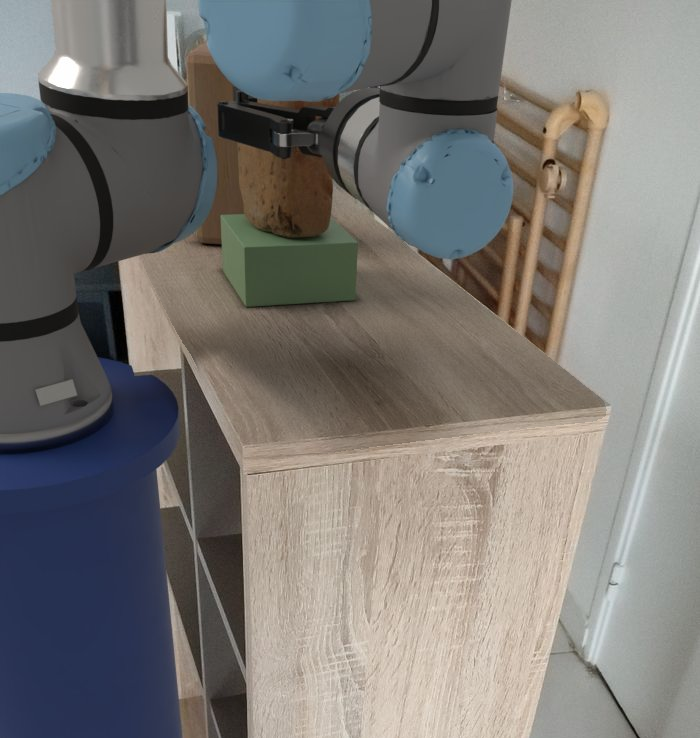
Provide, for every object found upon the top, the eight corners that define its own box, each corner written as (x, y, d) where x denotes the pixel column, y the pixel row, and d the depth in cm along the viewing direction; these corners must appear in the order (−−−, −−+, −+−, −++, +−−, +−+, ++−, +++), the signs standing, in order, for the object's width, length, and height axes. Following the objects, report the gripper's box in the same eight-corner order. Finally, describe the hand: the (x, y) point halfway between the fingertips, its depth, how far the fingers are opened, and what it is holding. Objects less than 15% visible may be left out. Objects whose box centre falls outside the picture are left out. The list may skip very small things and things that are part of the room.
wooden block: (194, 245, 109) (183, 51, 96) (207, 223, 116) (199, 41, 104) (276, 250, 109) (276, 57, 96) (284, 227, 116) (285, 46, 104)
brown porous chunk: (234, 218, 97) (227, -7, 85) (295, 212, 100) (297, -6, 88) (279, 245, 90) (279, 5, 78) (344, 238, 93) (353, 5, 81)
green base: (245, 307, 93) (244, 247, 89) (222, 270, 102) (220, 214, 98) (355, 300, 96) (358, 242, 92) (323, 265, 105) (325, 211, 101)
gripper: (223, 211, 66) (177, 150, 82) (521, 201, 72) (425, 146, 88) (219, 95, 61) (170, 53, 77) (538, 95, 68) (432, 56, 84)
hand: (306, 103), depth 83 cm, fingers open, 12 cm apart
